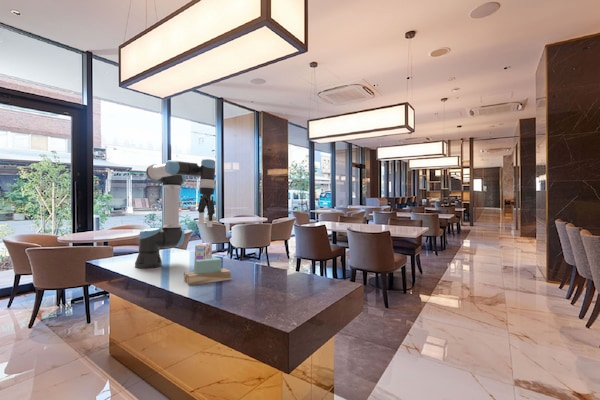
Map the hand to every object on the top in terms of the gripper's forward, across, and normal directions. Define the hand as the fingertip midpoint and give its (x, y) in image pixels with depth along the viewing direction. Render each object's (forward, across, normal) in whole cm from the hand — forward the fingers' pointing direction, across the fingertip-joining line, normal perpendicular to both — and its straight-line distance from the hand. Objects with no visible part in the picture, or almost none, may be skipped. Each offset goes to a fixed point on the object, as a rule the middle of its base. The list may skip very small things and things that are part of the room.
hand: (205, 225), depth 165 cm
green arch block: (+27, +9, 0) cm, 29 cm away
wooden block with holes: (+28, +9, 0) cm, 30 cm away
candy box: (+29, -12, +5) cm, 32 cm away
